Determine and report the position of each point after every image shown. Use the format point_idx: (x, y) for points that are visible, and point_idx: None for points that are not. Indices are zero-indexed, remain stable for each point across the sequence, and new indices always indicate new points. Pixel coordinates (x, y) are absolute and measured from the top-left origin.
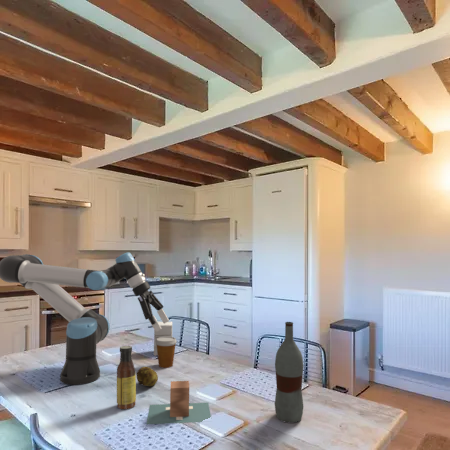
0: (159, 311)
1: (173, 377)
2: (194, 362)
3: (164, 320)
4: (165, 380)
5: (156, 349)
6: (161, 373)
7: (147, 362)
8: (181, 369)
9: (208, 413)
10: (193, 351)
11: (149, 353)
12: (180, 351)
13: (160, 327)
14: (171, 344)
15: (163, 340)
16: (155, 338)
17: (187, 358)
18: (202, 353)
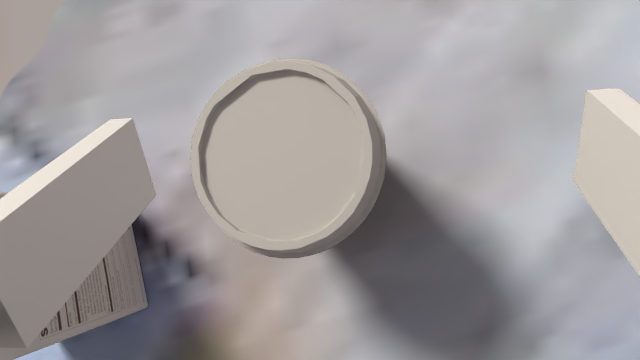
0: (25, 290)
1: (545, 53)
2: (238, 11)
3: (130, 185)
4: (613, 86)
5: (120, 299)
6: (482, 153)
7: (283, 310)
8: (383, 50)
9: None
10: (33, 80)
11: (104, 351)
12: (42, 161)
13: (615, 97)
14: (350, 86)
15: (313, 173)
16: (64, 328)
17: (169, 77)
18: (64, 14)
